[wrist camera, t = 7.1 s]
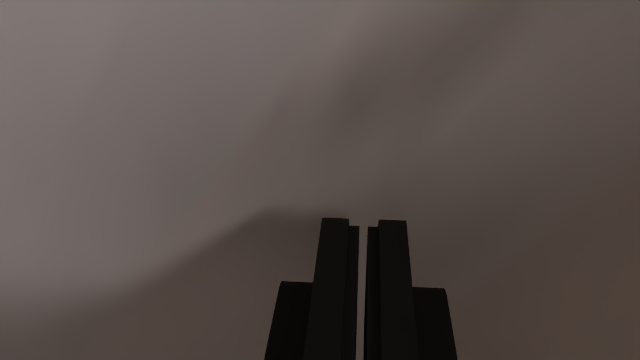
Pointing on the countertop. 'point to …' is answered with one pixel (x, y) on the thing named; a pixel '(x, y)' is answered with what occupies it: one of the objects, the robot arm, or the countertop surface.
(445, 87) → the countertop surface
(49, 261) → the countertop surface
